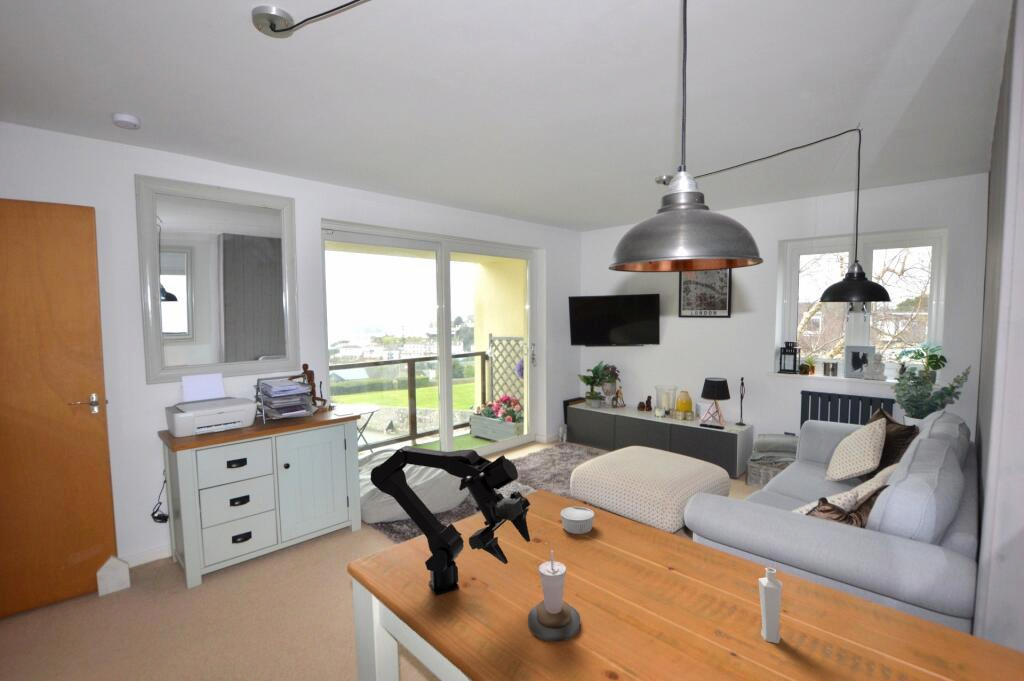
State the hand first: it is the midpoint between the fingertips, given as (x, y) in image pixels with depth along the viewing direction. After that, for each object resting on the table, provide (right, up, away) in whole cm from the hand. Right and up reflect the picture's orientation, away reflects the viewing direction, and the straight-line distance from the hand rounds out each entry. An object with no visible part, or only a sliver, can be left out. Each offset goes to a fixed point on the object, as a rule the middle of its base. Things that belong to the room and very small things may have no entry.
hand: (518, 552), depth 117 cm
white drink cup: (+8, -9, -9) cm, 15 cm away
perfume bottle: (+55, -12, -15) cm, 58 cm away
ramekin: (+20, -10, +40) cm, 46 cm away
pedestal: (+8, -13, -9) cm, 17 cm away
